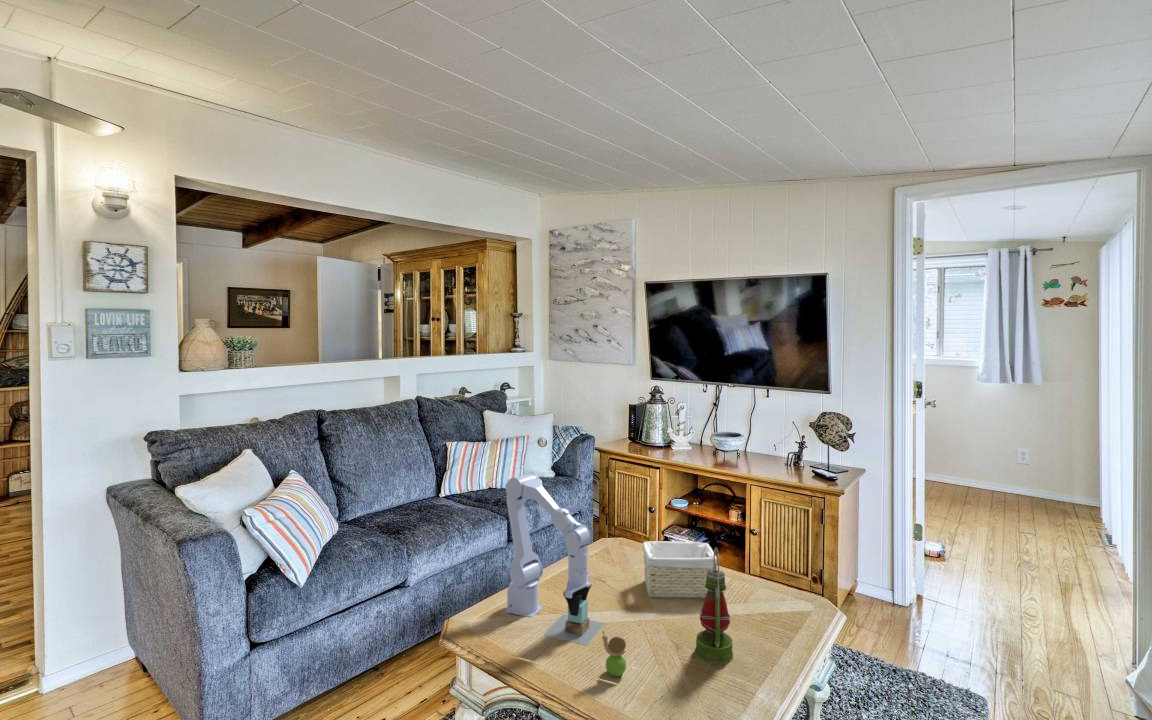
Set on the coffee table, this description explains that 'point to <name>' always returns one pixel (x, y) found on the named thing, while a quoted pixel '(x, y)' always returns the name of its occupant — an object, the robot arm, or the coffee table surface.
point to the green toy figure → (615, 655)
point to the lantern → (714, 621)
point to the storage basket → (677, 568)
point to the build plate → (559, 632)
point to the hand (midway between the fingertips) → (577, 611)
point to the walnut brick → (577, 627)
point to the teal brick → (579, 613)
